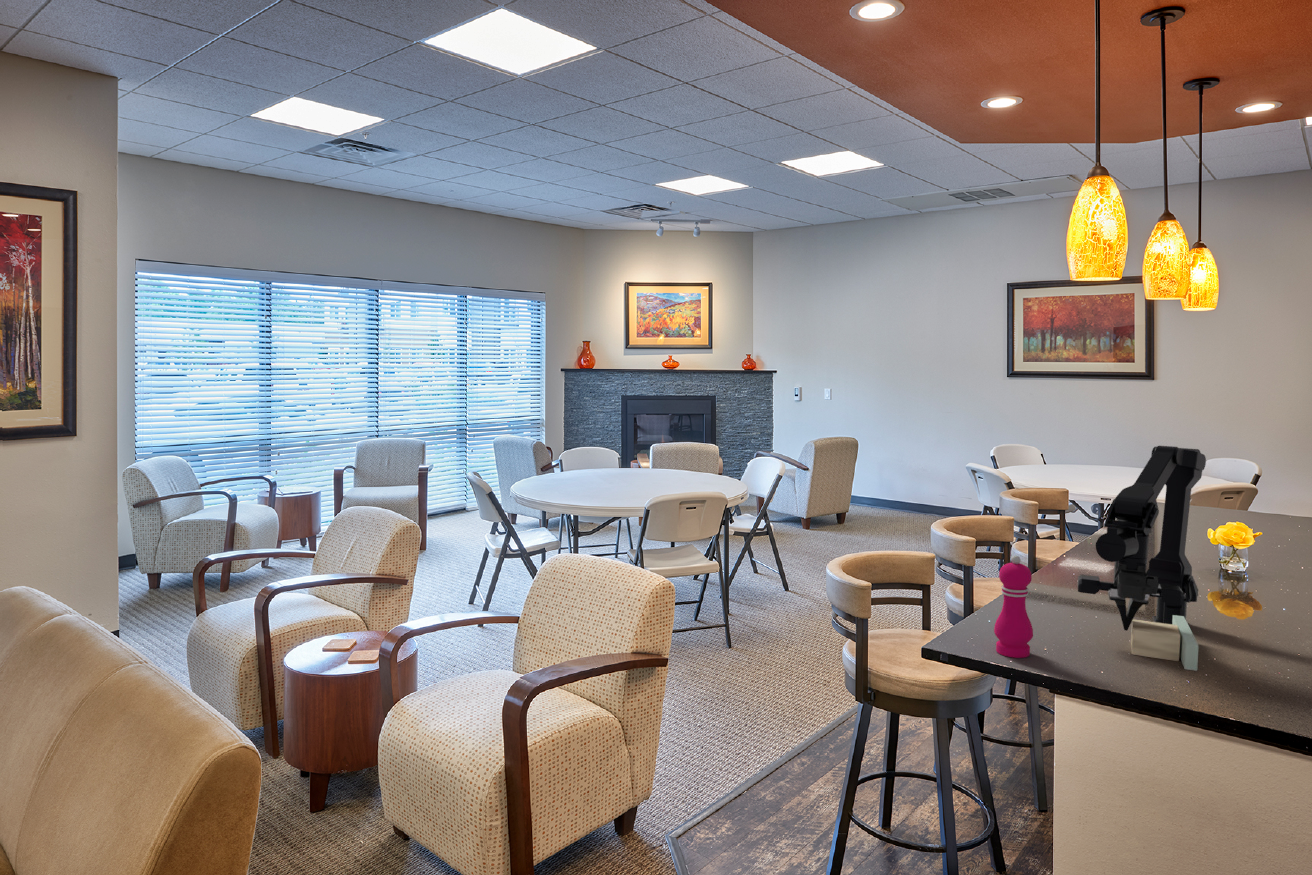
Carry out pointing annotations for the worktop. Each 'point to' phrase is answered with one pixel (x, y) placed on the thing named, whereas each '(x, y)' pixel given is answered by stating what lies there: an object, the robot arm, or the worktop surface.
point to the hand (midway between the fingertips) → (1125, 629)
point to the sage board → (1186, 644)
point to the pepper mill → (1014, 611)
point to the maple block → (1155, 640)
